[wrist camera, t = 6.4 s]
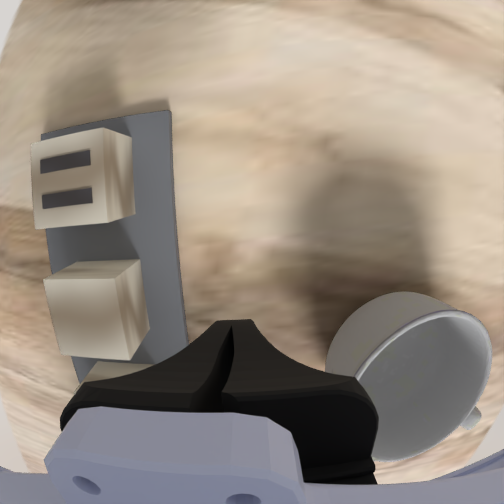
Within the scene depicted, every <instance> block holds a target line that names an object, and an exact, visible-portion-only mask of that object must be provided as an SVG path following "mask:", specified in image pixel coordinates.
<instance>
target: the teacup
mask: <svg viewBox="0 0 504 504" xmlns="http://www.w3.org/2000/svg"><path fill="white" fill-rule="evenodd" d="M491 364H492V346H491V341H490V338H489V335H488V332H487V330H486V328H485V327H484V325H483V324H482V323H481V321H480V320H478V319H477V318H476V317H475V316H473V315H471V314H469V313H467V312H464V311H460V310H457V309H455V308H454V307H452V306H450V305H448V304H446V303H444V302H441V301H439V300H437V299H435V298H432V297H430V296H427V295H424V294H420V293H416V292H394V293H389V294H385V295H382V296H380V297H377V298H375V299H373V300H371V301H369V302H367V303H366V304H364V305H363V306H361V307H360V308H358V309H357V310H356V311H355V312H354V313H353V314H351V315H350V316H349V317H348V319H347V320H346V321H345V322H344V323H343V325H342V326H341V327H340V329H339V330H338V331H337V333H336V335H335V337H334V339H333V341H332V343H331V345H330V348H329V351H328V354H327V358H326V365H325V372H327V373H332V374H338V375H345V376H352V377H356V379H357V380H358V382H359V383H360V384H361V385H362V387H363V388H364V389H365V391H366V392H367V393H368V395H369V396H370V398H371V400H372V402H373V404H374V406H375V408H376V410H377V413H378V416H379V424H378V431H377V435H376V439H375V443H374V447H373V451H372V455H371V457H372V459H373V461H379V462H394V461H400V460H404V459H407V458H411V457H414V456H416V455H419V454H421V453H423V452H425V451H427V450H429V449H431V448H432V447H434V446H435V445H437V444H438V443H440V442H441V441H443V440H444V439H445V438H446V437H448V436H449V435H450V434H451V433H452V432H453V431H454V430H455V429H457V428H458V427H459V425H460V426H461V427H463V428H465V429H467V430H470V429H472V428H473V427H475V426H476V425H477V423H478V422H479V421H480V419H481V412H480V411H479V410H478V408H477V407H476V404H477V402H478V400H479V398H480V396H481V395H482V393H483V391H484V389H485V386H486V384H487V381H488V378H489V374H490V370H491Z"/></svg>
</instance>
